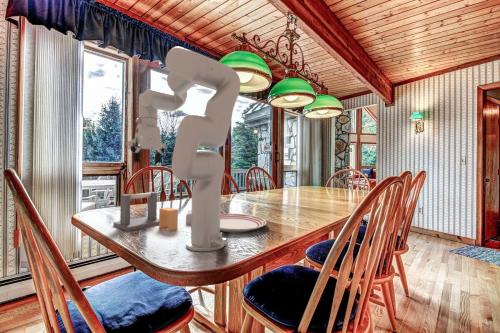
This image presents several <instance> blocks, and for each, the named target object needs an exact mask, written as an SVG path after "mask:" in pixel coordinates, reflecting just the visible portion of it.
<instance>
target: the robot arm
mask: <svg viewBox="0 0 500 333" xmlns="http://www.w3.org/2000/svg"><path fill="white" fill-rule="evenodd" d="M164 63H165V68H166V69H167V71H168V72H169V73H168V74H167V77H166V83H167V85H168V87H169V89H170V90H171V91H172V92H173V93H169V92H165V91H163V90H158V89H154V88H153V89H152V88H148V89H146V90H145V91H144V92H142V93H140V94H139V96H138V117H137V118H136V119H135V122H136V123H137V125H136V127H135V134H134V138H132V139H130V140H128V141H127V142H126V144H127V146H128V147H129V150H130V151H131V152H132V154H133V163H140V151H141V150H153V151H154V152H155V153H154V163H155V164H157V163H158V164H161V160H162V154H163V152H164V151H165V149H166V147H167V144H166V143H164V142H162V137H161V130H160V126H158V111H160V110H161V111H166V112H174V111H175V112H176V111H177V110H178V109H180V108H181V107H183V105H185V102H186V100H187V98H188V91H189V90H190V89H191V88H193V87H194V86H195V85H198V86H202V87H205V88H209V89H212V90H215V91H214V92H213V93H212V94H211V95H210V97H209V98H208V99H207V102H206V106H205V111H204V114H203V115H202V114H196V113H191V114H187V115H186V116H184V117H182V119H181V121H180V122H179V125H178V128H177V132H176V138H175V144H174V148H173V154H172V158H171V171H172V174H173V176H174V177H175V178H176V179H178V180H179V181H195V183H194V186H193V187H192V192H191V210H192V212H191V224H190V226H191V227H190V238H189V239H188V240H187V241H186V243H185V246H186V248H187V249H188V250H190V251H193V252H194V251H195V252H213V251H217V250H220V249H222V248H223V247H224V246H225V245H226V244H227V243H228V239H227V238H225V237H223V232H222V231H220V214H221V204H222V200H221V199H222V185H223V184H222V183H223V177H224V172H225V166H226V164H225V159H224V158H223V156H222V155H221V154H220V153H218V152H216V151H213V150H209V149H208V150H203V149H199V147H200V148H212V149H213V148H221V147H222V146H224V144H225V143H226V141H227V139H228V134H229V129H230V126H231V120H232V117H233V111H234V108H235V104H236V102H237V100H238V97H239V94H240V91H241V78H240V75H239V74H238V73H237V71H236V70H235V69H233V68H232V67H231V66H229V65H227V64H225V63H222V62H220V61H218V60H216V59H213V58H210V57H208V56H205V55H203V54H201V53H199V52H195V51H194V50H190V49H187V48H185V47H182V46H174V47H172V48H171V49H170V50H169V51H168V52H167V54H166V56H165V62H164Z"/></svg>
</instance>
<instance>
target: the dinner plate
mask: <svg viewBox="0 0 500 333" xmlns="http://www.w3.org/2000/svg"><path fill="white" fill-rule="evenodd" d="M266 225H267V221H266V219H264V218H262V217H259V216H256V215H253V214H252V215H251V214H246V213H244V214H243V213H220V232H225V233H245V232H246V231H247V232H251V231H255V230H257V229H259V228H261V227H264V226H266ZM250 230H251V231H250Z"/></svg>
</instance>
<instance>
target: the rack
mask: <svg viewBox="0 0 500 333" xmlns="http://www.w3.org/2000/svg"><path fill="white" fill-rule="evenodd" d="M144 198H147V216H144V217H137V218H131V200H136V199H144ZM157 203H158V193H157V192H155V191H148V192H145V193H144V192H142V193H131V194H128V193H127V194H120V215H119V216H120V218H119V219H120V221H119V220H118V221H113V226H114V227H116V228H118V229H121V230H123V231H127V232H130V231H136V230H140V229H145V228H150V227H154V226H158V225H159V218H157V215H158V214H157V213H158V212H157V211H158V210H157V209H158V208H157V206H158V205H157Z"/></svg>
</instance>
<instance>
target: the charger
mask: <svg viewBox="0 0 500 333" xmlns="http://www.w3.org/2000/svg"><path fill="white" fill-rule="evenodd" d="M191 212H192V209H190V210H187V212H186V215H185V223H186V225H191Z"/></svg>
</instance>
